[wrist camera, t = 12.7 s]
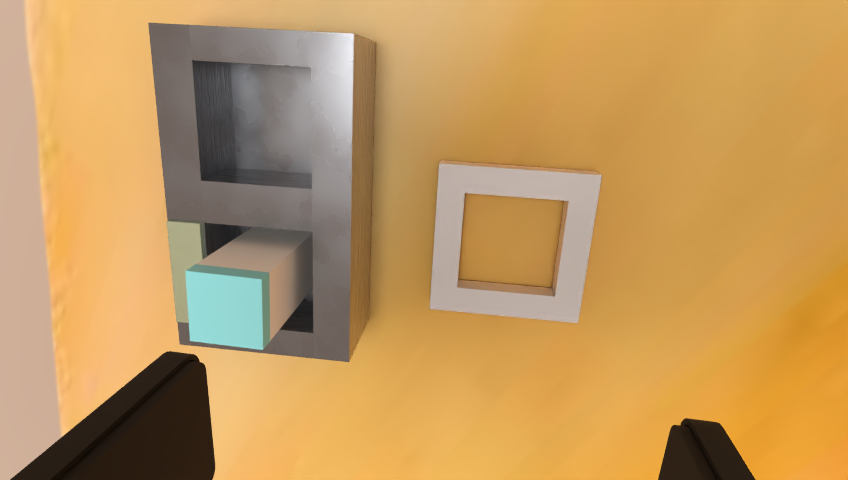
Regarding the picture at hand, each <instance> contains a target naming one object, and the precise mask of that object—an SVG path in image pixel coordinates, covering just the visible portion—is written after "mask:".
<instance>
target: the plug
mask: <svg viewBox="0 0 848 480" xmlns="http://www.w3.org/2000/svg"><path fill="white" fill-rule="evenodd" d="M185 274H186V288H187V303H188V318H189V333H190V341H195V342H203V343H211V344H219V345H227V346H235V347H243V348H251V349H259V350H263V349H264V348H265V347H266V346H267V344H268V343H269V342H270V341H271V339H272V338H273V337H274V336H275V334H276V333H277V332H278V331H279V329H280V328H281V327H282V326H283V324H284V323H285V322H286V321H287V319H288V318H289V317H290V316H291V314H292V313H293V312H294V311H295V309H296V308H297V307H298V306H299V304H300V303H301V302H302V301H303V300H304V298H305V297H306V296H307V295H308V293H309V292H310V291H311V290H312V288H313V233H312V232H308V231H296V230H284V229H272V228H261V227H252V228H251V229H249V230H248V231H246V232H245V233H243V234H241V235H240V236H238V237H237V238H235V239H234V240H232V241H231V242H229V243H228V244H226V245H224V246H223V247H221V248H220V249H218V250H217V251H215V252H214V253H212V254H210V255H209V256H207V257H206V258H204V259H203V260H201V261H200V262H198V263H197V264H195V265H193V266H192V267H190V268H189V269H187V270H186V271H185Z"/></svg>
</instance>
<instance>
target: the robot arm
mask: <svg viewBox="0 0 848 480" xmlns="http://www.w3.org/2000/svg"><path fill="white" fill-rule="evenodd" d="M214 472H215V459H214V448H213V438H212V427H211V417H210V406H209V396H208V385H207V375H206V368H205V365H204V364H203V363H201V362H199V359H198V357H197V356H196V355H194V354H187V353H179V352H171V351H170V352H166V353H164V354H162V355H161V356H160V357H159V358H158V359H156V360H155V361H154V362H153V363H151V364H150V365H149V366H148V367H147V368H145V369H144V370H143V371H142V372H141V373H139V374H138V375H137V376H136V377H134V378H133V379H132V380H131V381H130V382H128V383H127V384H126V385H125V386H124V387H122V388H121V389H120V390H119V391H117V392H116V393H115V394H114V395H113V396H111V397H110V398H109V399H108V400H107V401H105V402H104V403H103V404H102V405H100V406H99V407H98V408H97V409H96V410H94V411H93V412H92V413H91V414H90V415H88V416H87V417H86V418H85V419H83V420H82V421H81V422H80V423H79V424H77V425H76V426H75V427H74V428H73V429H71V430H70V431H69V432H68V433H66V434H65V435H64V436H63V437H62V438H60V439H59V440H58V441H57V442H55V443H54V444H53V445H52V446H51V447H49V448H48V449H47V450H46V451H45V452H43V453H42V454H41V455H40V456H39V457H37V458H36V459H35V460H34V461H32V462H31V463H30V464H29V465H28V466H26V467H25V468H24V469H23V470H21V471H20V472H19V473H18V474H17V475H15V476H14V477H13V478H12V479H11V480H212V479H213V476H214ZM658 480H755V478H754V477H753V475H752V473H751V472H750V470H749V469H748V467H747V465H746V464H745V462H744V461H743V459H742V457H741V456H740V454H739V452H738V451H737V449H736V448H735V446H734V444H733V443H732V441H731V440H730V438H729V436H728V435H727V433H726V432H725V430H724V428H723V427H722V426H721V425H720V424H719V423H717V422H710V421H703V420H695V419H687V418H686V419H684V420H683V421H682V422H681V425H680V426H679V425H673V426H672V427H671V430H670V433H669V437H668V441H667V445H666V450H665V454H664V458H663V462H662V466H661V470H660V474H659V478H658Z"/></svg>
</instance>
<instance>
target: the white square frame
mask: <svg viewBox="0 0 848 480" xmlns="http://www.w3.org/2000/svg"><path fill="white" fill-rule="evenodd" d="M601 178H602V175H601V174H600V173H598V172H597V171H587V170H573V169H559V168H545V167H531V166H517V165H503V164H489V163H475V162H461V161H447V160H441V161H440V163H439V173H438V189H437V204H436V219H435V234H434V250H433V265H432V280H431V296H430V309H435V310H446V311H456V312H467V313H477V314H488V315H498V316H509V317H520V318H530V319H541V320H551V321H562V322H572V323H578V320H579V314H580V308H581V302H582V295H583V289H584V283H585V277H586V271H587V265H588V258H589V252H590V246H591V240H592V234H593V228H594V222H595V215H596V209H597V203H598V197H599V191H600V185H601ZM465 193H471V194H484V195H497V196H510V197H523V198H536V199H550V200H563V201H564V207H563V214H562V221H561V228H560V235H559V242H558V249H557V256H556V263H555V270H554V277H553V284H552V288H547V287H536V286H525V285H513V284H502V283H491V282H480V281H469V280H458V272H459V260H460V248H461V236H462V223H463V211H464V199H465Z"/></svg>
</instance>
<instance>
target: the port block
mask: <svg viewBox="0 0 848 480" xmlns="http://www.w3.org/2000/svg"><path fill="white" fill-rule="evenodd" d="M149 34H150V44H151V54H152V64H153V75H154V85H155V95H156V105H157V116H158V126H159V136H160V146H161V157H162V167H163V177H164V187H165V198H166V208H167V218H168V221H167V229H168V239H169V249H170V260H171V270H172V280H173V290H174V300H175V310H176V321H177V322H178V331H179V341H180V344H182V345H191V346H201V347H210V348H220V349H229V350H239V351H249V352H258V353H268V354H277V355H287V356H296V357H306V358H315V359H325V360H334V361H344V362H349V361H350V359H351V357H352V355H353V352H354V350H355V348H356V346H357V344H358V342H359V339H360V337H361V335H362V333H363V331H364V329H365V326H366V324H367V322H368V320H369V291H370V253H371V215H372V177H373V139H374V101H375V64H376V42H374V41H372V40H369V39H366V38H364V37H361V36H359V35H356V34H352V33H333V32H314V31H295V30H276V29H257V28H238V27H219V26H200V25H181V24H162V23H149ZM252 227H261V228H272V229H284V230H296V231H308V232H312V233H313V288H312V290H311V291H310V292H309V293H308V295H307V296H306V297H305V298H304V300H303V301H302V302H301V303H300V304H299V306H298V307H297V308H296V309H295V311H294V312H293V313H292V314H291V316H290V317H289V318H288V319H287V321H286V322H285V323H284V324H283V326H282V327H281V328H280V329H279V331H278V332H277V333H276V334H275V336H274V337H273V338H272V339H271V341H270V342H269V343H268V344H267V346H266V347H265V348H264V349H263V350H259V349H251V348H243V347H235V346H227V345H219V344H211V343H203V342H195V341H190V333H189V318H188V303H187V288H186V274H185V271H186V270H187V269H189V268H190V267H192V266H193V265H195V264H197V263H198V262H200V261H201V260H203V259H204V258H206V257H207V256H209V255H210V254H212V253H214V252H215V251H217V250H218V249H220V248H221V247H223V246H224V245H226V244H228V243H229V242H231V241H232V240H234V239H235V238H237V237H238V236H240V235H241V234H243V233H245V232H246V231H248V230H249V229H251V228H252Z"/></svg>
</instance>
